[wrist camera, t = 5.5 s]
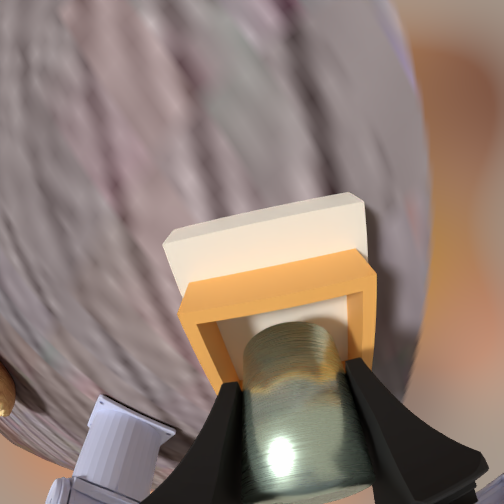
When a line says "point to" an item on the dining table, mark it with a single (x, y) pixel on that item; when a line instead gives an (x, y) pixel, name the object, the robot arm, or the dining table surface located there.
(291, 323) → the green can
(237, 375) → the orange and cream box
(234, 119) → the dining table surface
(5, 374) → the pastry
